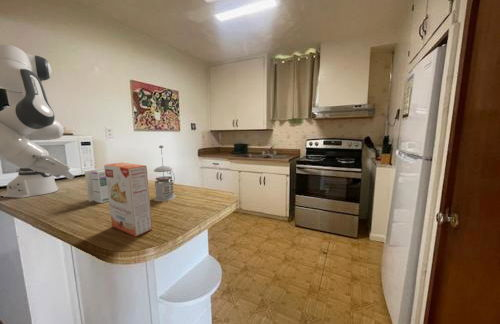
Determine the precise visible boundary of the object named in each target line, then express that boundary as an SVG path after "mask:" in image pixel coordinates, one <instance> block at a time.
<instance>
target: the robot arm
mask: <svg viewBox="0 0 500 324" xmlns="http://www.w3.org/2000/svg"><path fill="white" fill-rule="evenodd" d="M52 73H53V71H52V66H51V65H50V62H49V61H48V59H46V58H44V57H42V56H40V55H33V54H30V53H25V51H23V50H22V49H21V48H19V47H17V46H14V45H11V44H0V87H1V88H3V89H5V92H6V97H7V101H8V105H9V107H5V108H4V109H2V110H0V157H1V159H2V160H5V161H6V162H7V163H8V162H9V163H11V164H12V165H15V166H16V167H18V168H19V169H17V170H15V171H16V173H18V174H17V176H16V177H15V178H14V179H11V181H10V182H8V183H7V185H6V192H4V193H2V194H0V197H1V196H3V197H4V198H18V199H22V198H28V197H35V196H41V195H47V194H51V193H55V192H57V191H59V187H58V185H57V184H56V180H55V178H60V177H61V176H63V177H65V178H66V179H67V180H73V179H74V178H75V175H74V174H72V173H71V172H70V170H71V168H70V167H69V166H68V165H66V164H65V163H63V162H62V161H59V160H58V159H57V158H55V157H52V156H50V153H49V151H48V150H46V149H45V148H43V147H42V146H40V145H38V144H37V143H35V142H33V141H51V140H58V139H61V137H63V136H64V133H65V128H64V127H63V125H62V124H61V123H60V122H59V121H58V120H56V119H55V113H54V110H53V109H52V107H51V105H50V104H49V101H48V97H47V95H46V92H45V89H44V86H43V83H42V82H43V81H44V82H45V81H47V80H50V78H51V76H52Z"/></svg>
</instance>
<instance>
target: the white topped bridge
mask: <svg viewBox="0 0 500 324" xmlns="http://www.w3.org/2000/svg"><path fill="white" fill-rule="evenodd" d="M102 169H105V167H104V168H98V169H91V170H84V177H85V186H86V194H87V201H88V202H92V201H95V198H94V191H93V184H92V177H91V171H95V170H102Z"/></svg>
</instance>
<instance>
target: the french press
mask: <svg viewBox="0 0 500 324" xmlns="http://www.w3.org/2000/svg"><path fill="white" fill-rule="evenodd" d="M158 148H159V149H160V151H161V154H163V148H164V145H159V146H158ZM161 161H162V162H161V164H162V166H158V167H156V168H155V169H154V170H153V172H154V173H162V175H163V176H159V177H156V178H155V181H154V186H155V187H154V189H155V197H154V198H155V199H153V200H154V201H156V202H167V200H168V201H171V199H172V200H174V199H175V197H176V198H177V196H176V195H175V194H174V184H175V179H176V178H175V176H173V175H175V173H174V172H173V168H172V167H170V166H167V165H164V160H163V158H161ZM165 172H166V173H167V174H168V175H170V176H165V174H164V173H165ZM172 174H173V175H172ZM172 176H173V177H172ZM173 198H174V199H173Z"/></svg>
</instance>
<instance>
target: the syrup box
mask: <svg viewBox="0 0 500 324" xmlns="http://www.w3.org/2000/svg"><path fill="white" fill-rule="evenodd" d="M101 169H102V170H96V169H94V170H95V171H91V177H92V184H93V191H94V198H95V200H94V202H95V203H99V204H103V203H107V202H109V199H108V191H107V183H106V175H105V169H103V168H101Z"/></svg>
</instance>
